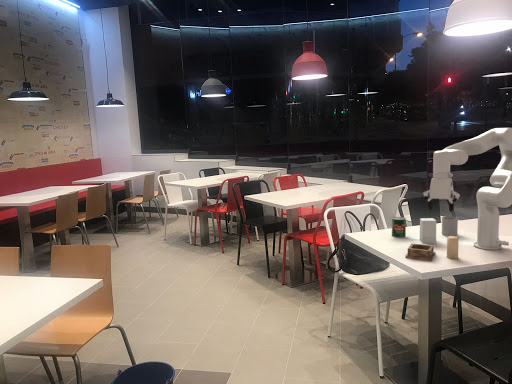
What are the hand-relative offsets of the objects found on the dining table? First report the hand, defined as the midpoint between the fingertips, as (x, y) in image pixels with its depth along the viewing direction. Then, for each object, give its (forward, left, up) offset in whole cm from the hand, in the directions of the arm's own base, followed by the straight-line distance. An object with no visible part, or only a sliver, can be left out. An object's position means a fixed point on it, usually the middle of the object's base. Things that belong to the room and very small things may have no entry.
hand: (440, 210), depth 196 cm
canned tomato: (+26, -27, -22) cm, 44 cm away
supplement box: (+9, -21, -22) cm, 32 cm away
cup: (0, -41, -22) cm, 47 cm away
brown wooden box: (+8, +8, -22) cm, 25 cm away
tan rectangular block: (-6, +5, -22) cm, 24 cm away
